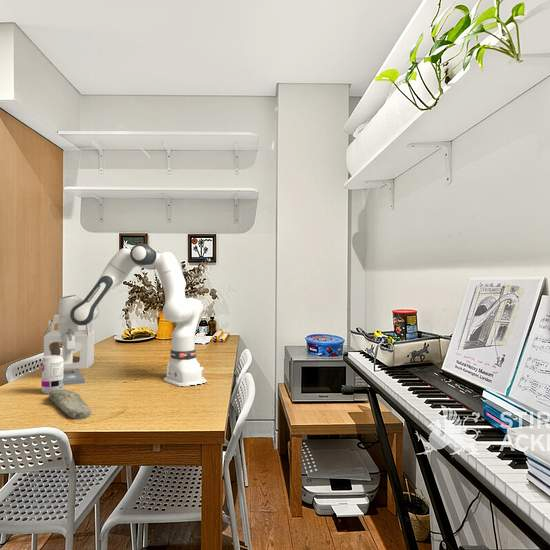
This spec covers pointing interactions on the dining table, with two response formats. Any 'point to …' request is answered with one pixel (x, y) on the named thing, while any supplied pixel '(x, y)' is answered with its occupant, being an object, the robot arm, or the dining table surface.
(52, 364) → the supplement can
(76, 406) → the elongated rock
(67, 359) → the block
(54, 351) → the gable box
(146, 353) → the dining table surface
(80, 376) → the power board
